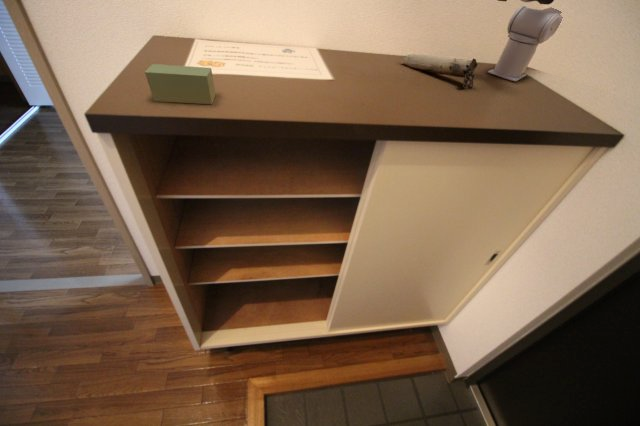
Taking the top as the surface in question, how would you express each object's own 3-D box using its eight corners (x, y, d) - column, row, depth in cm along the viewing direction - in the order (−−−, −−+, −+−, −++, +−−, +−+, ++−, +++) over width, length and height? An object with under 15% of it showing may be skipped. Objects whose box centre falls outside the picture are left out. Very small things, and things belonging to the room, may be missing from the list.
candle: (461, 91, 69) (473, 63, 65) (401, 63, 80) (408, 38, 75) (474, 87, 72) (487, 60, 68) (415, 61, 83) (422, 36, 78)
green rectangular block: (160, 92, 53) (152, 63, 50) (215, 95, 55) (211, 67, 51) (153, 101, 51) (144, 71, 47) (211, 104, 52) (206, 76, 48)
